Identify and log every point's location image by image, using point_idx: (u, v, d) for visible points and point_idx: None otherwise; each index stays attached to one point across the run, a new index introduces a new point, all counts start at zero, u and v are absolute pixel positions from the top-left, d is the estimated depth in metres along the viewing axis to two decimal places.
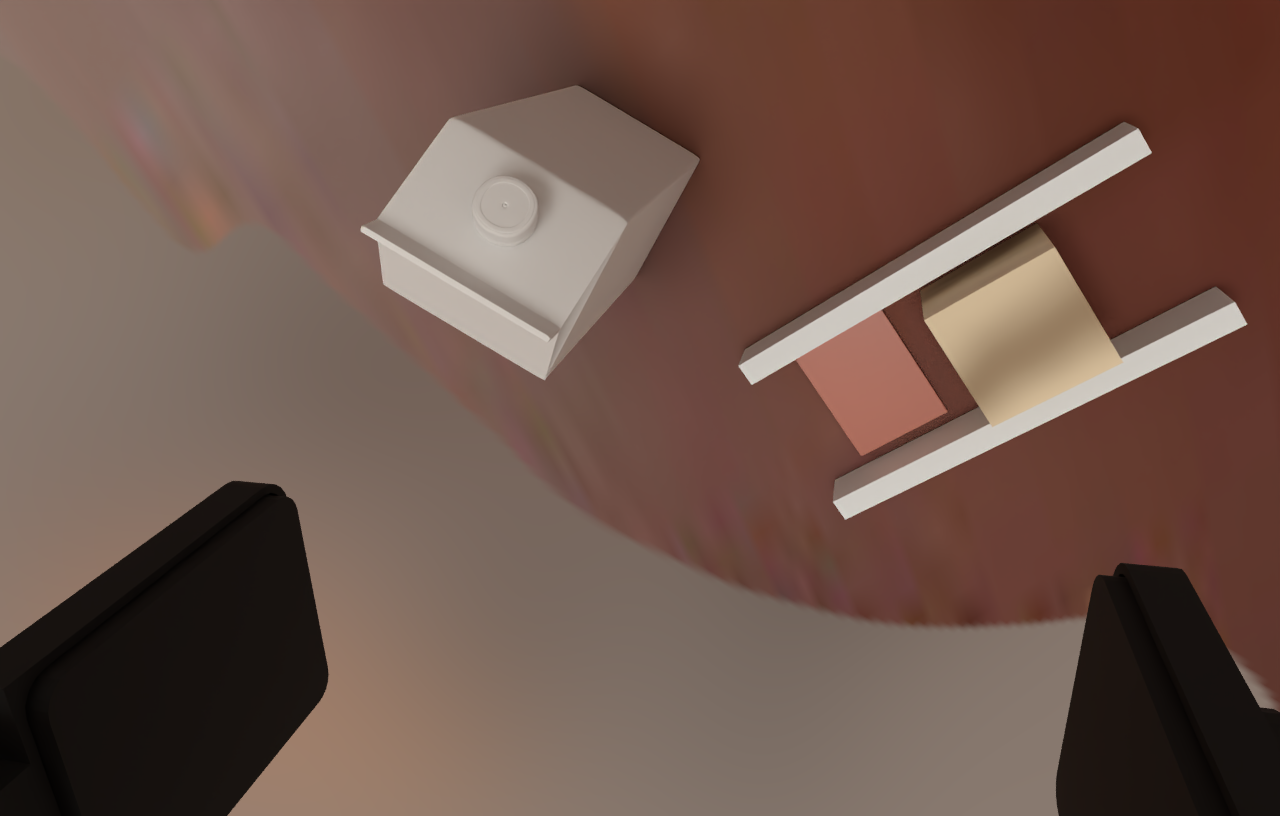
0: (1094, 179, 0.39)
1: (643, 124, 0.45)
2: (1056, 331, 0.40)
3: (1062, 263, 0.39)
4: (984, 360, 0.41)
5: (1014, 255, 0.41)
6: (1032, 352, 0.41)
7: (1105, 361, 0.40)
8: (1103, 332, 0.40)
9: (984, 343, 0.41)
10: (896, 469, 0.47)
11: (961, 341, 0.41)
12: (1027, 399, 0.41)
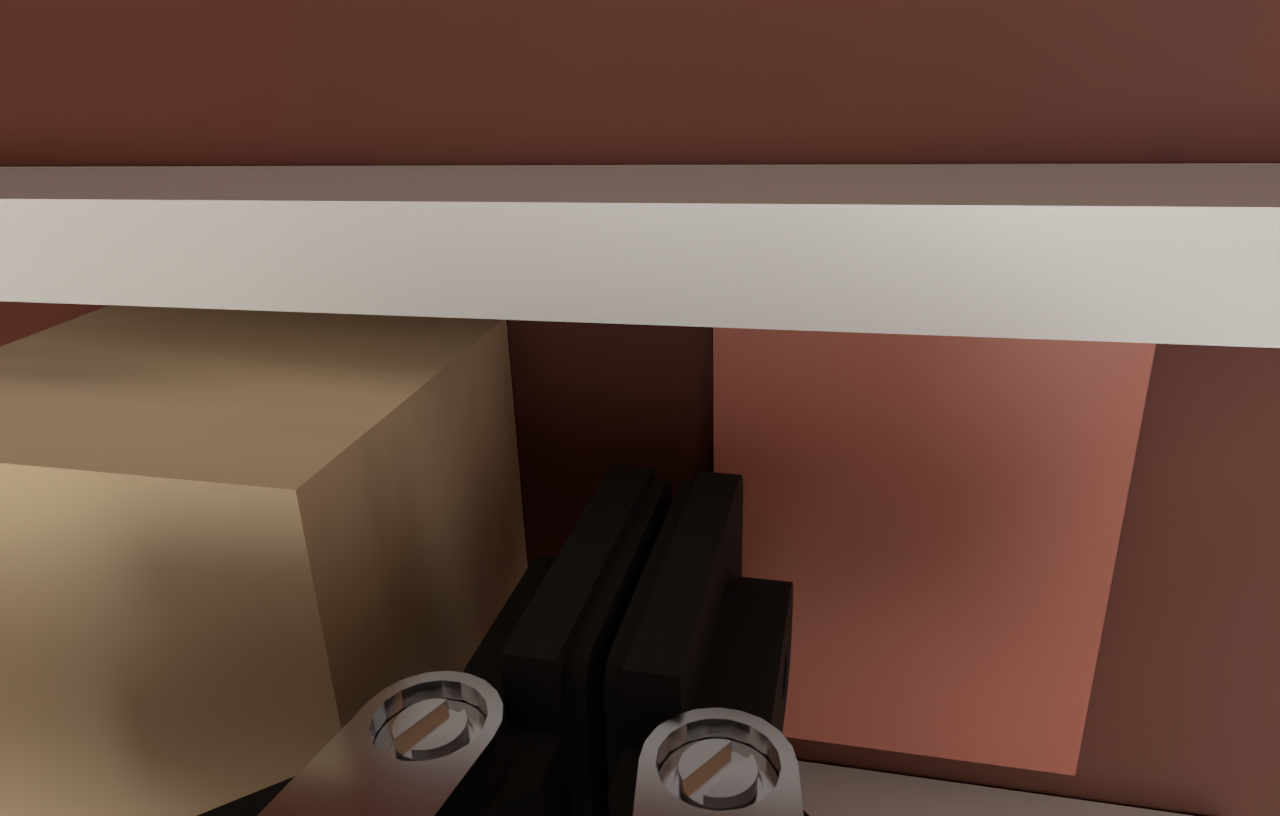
0: None
1: None
2: None
3: None
4: (234, 745, 0.09)
5: None
6: (58, 666, 0.09)
7: None
8: None
9: (217, 795, 0.10)
10: (1034, 335, 0.09)
11: None
12: (114, 514, 0.08)
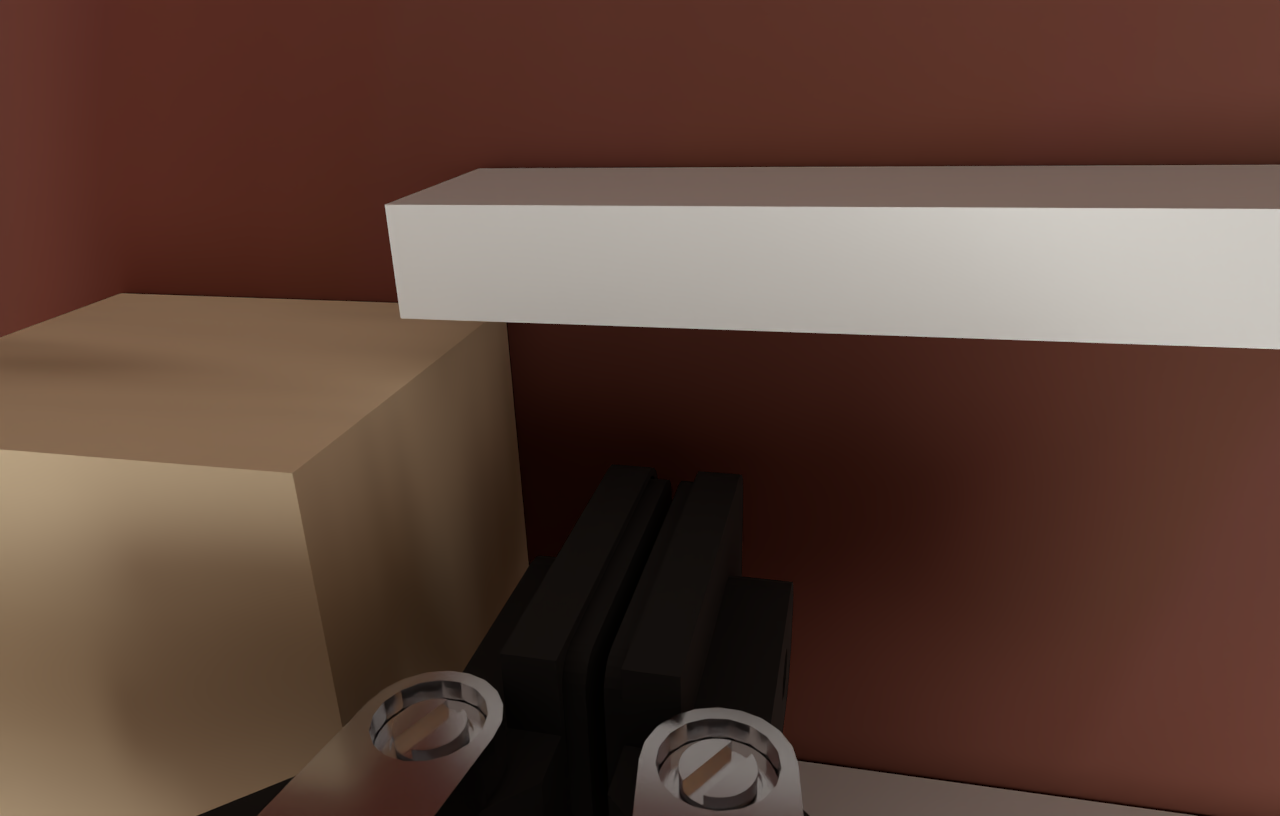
0: None
1: None
2: None
3: None
4: (233, 733, 0.09)
5: None
6: (57, 655, 0.09)
7: None
8: None
9: (217, 783, 0.10)
10: None
11: None
12: (112, 499, 0.08)
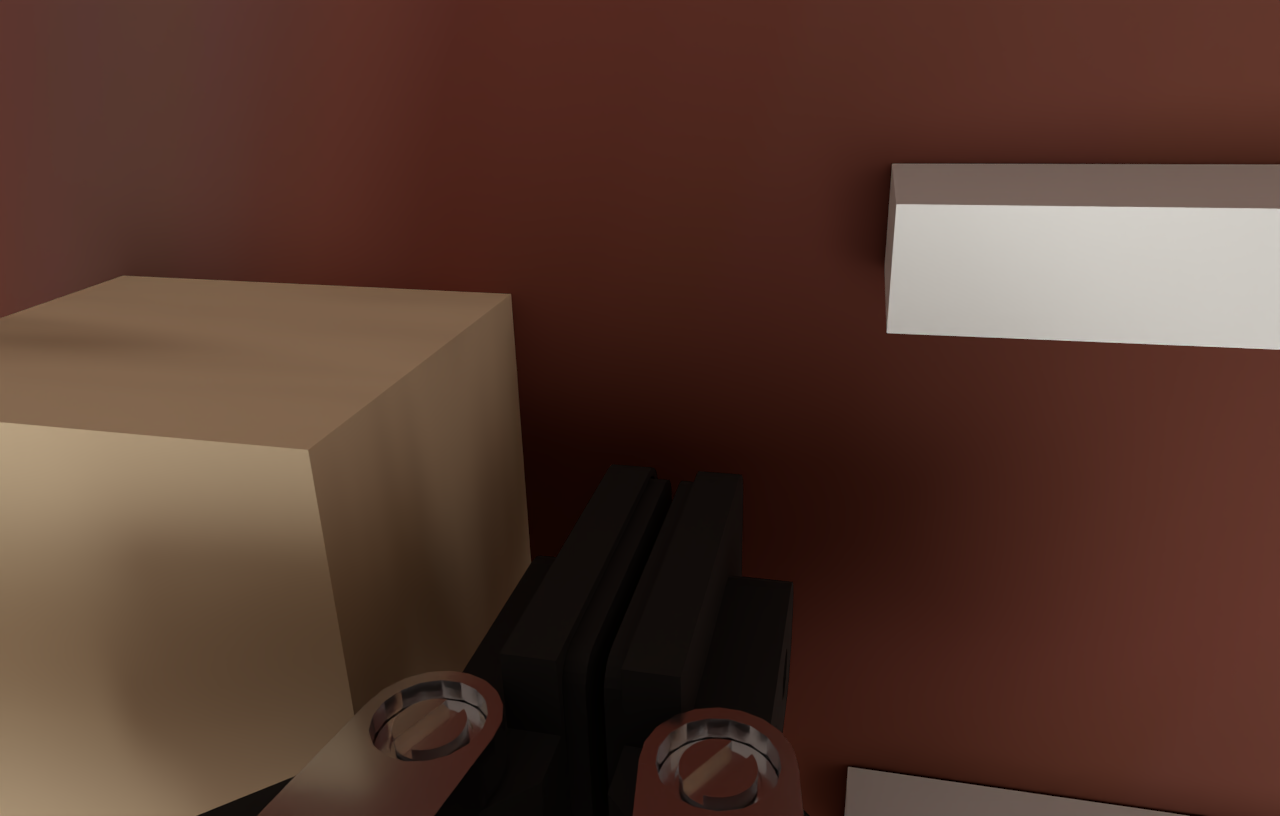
0: None
1: None
2: None
3: None
4: (242, 710, 0.09)
5: None
6: (67, 629, 0.09)
7: None
8: None
9: (225, 760, 0.10)
10: None
11: None
12: (127, 476, 0.08)
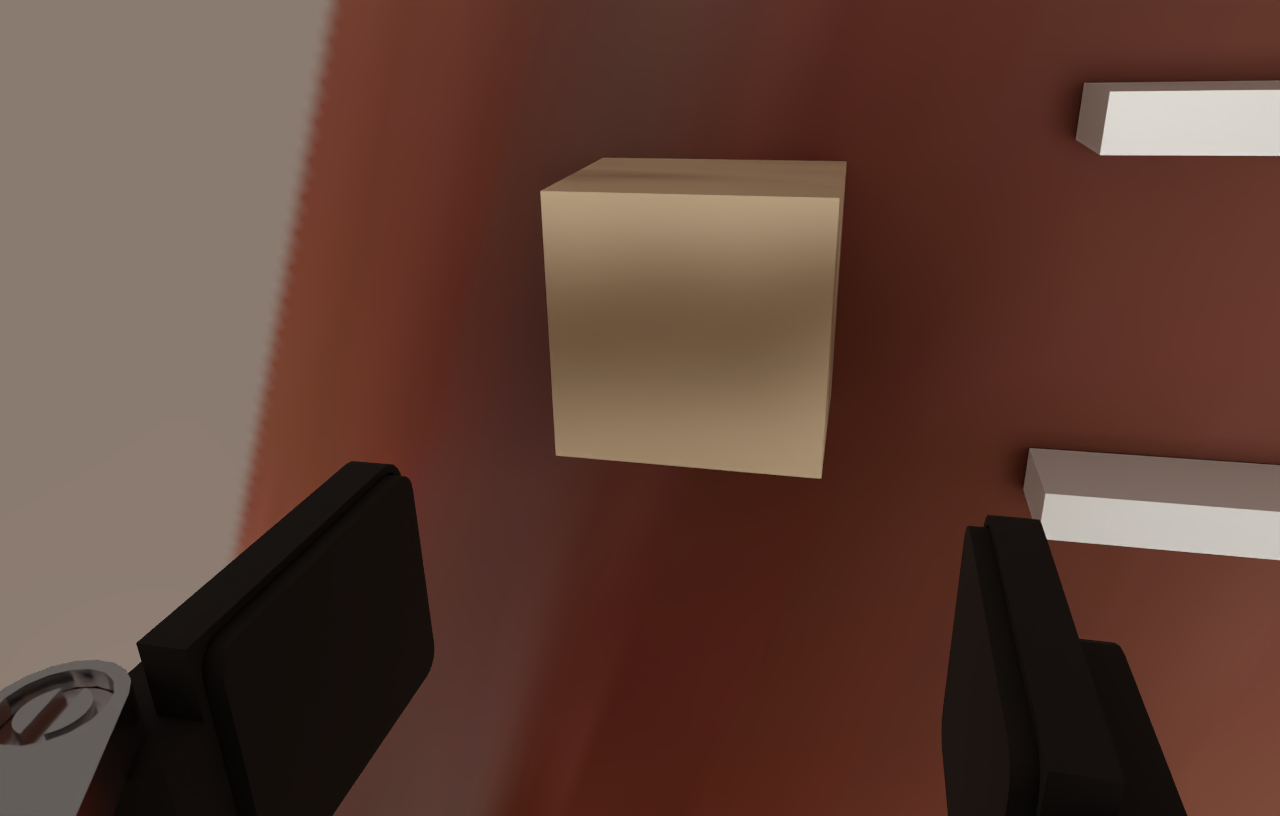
0: (1152, 512, 0.21)
1: None
2: (620, 319, 0.20)
3: (556, 424, 0.21)
4: (767, 342, 0.19)
5: None
6: (678, 306, 0.19)
7: (568, 211, 0.19)
8: (548, 269, 0.20)
9: (750, 374, 0.19)
10: None
11: (784, 402, 0.20)
12: (739, 217, 0.18)
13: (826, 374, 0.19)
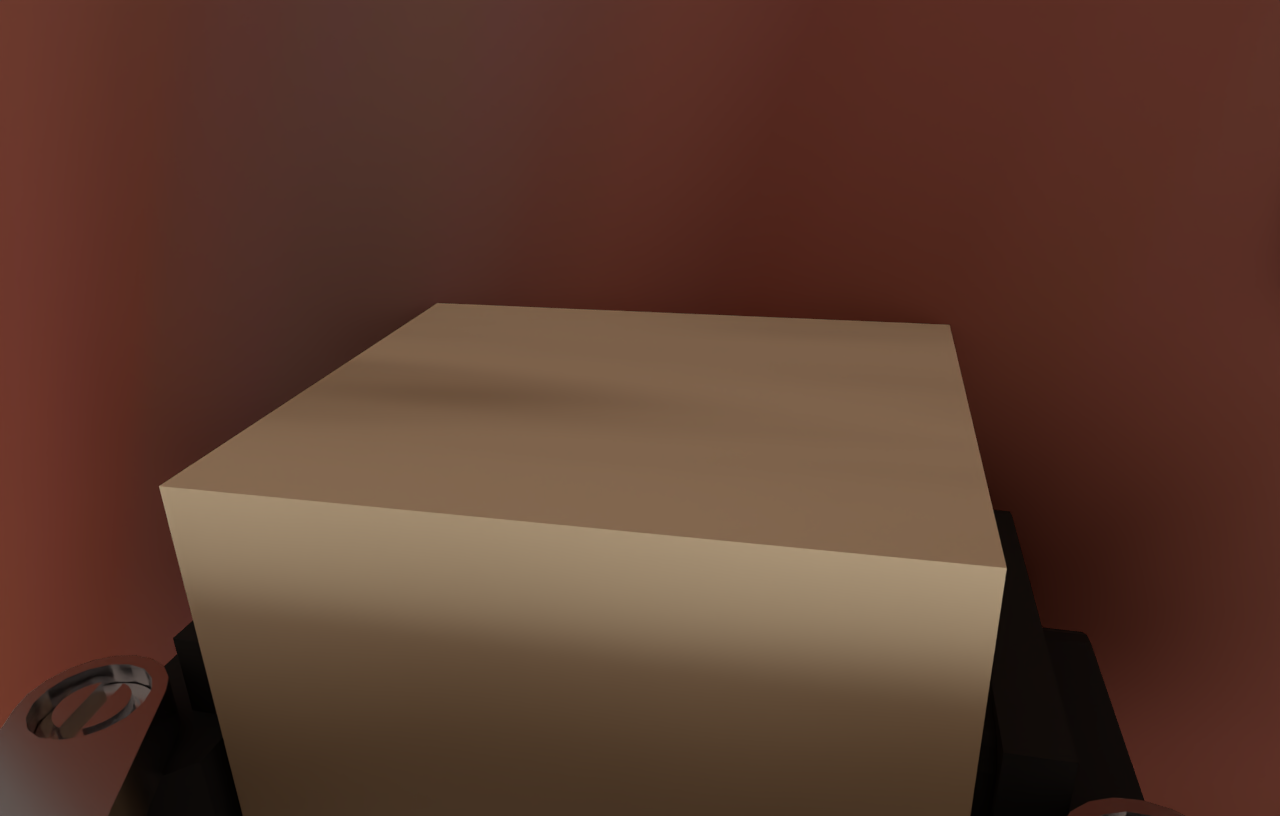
0: None
1: None
2: (399, 789, 0.08)
3: None
4: None
5: None
6: (543, 780, 0.07)
7: (236, 541, 0.07)
8: (211, 664, 0.08)
9: None
10: None
11: None
12: (696, 594, 0.06)
13: None
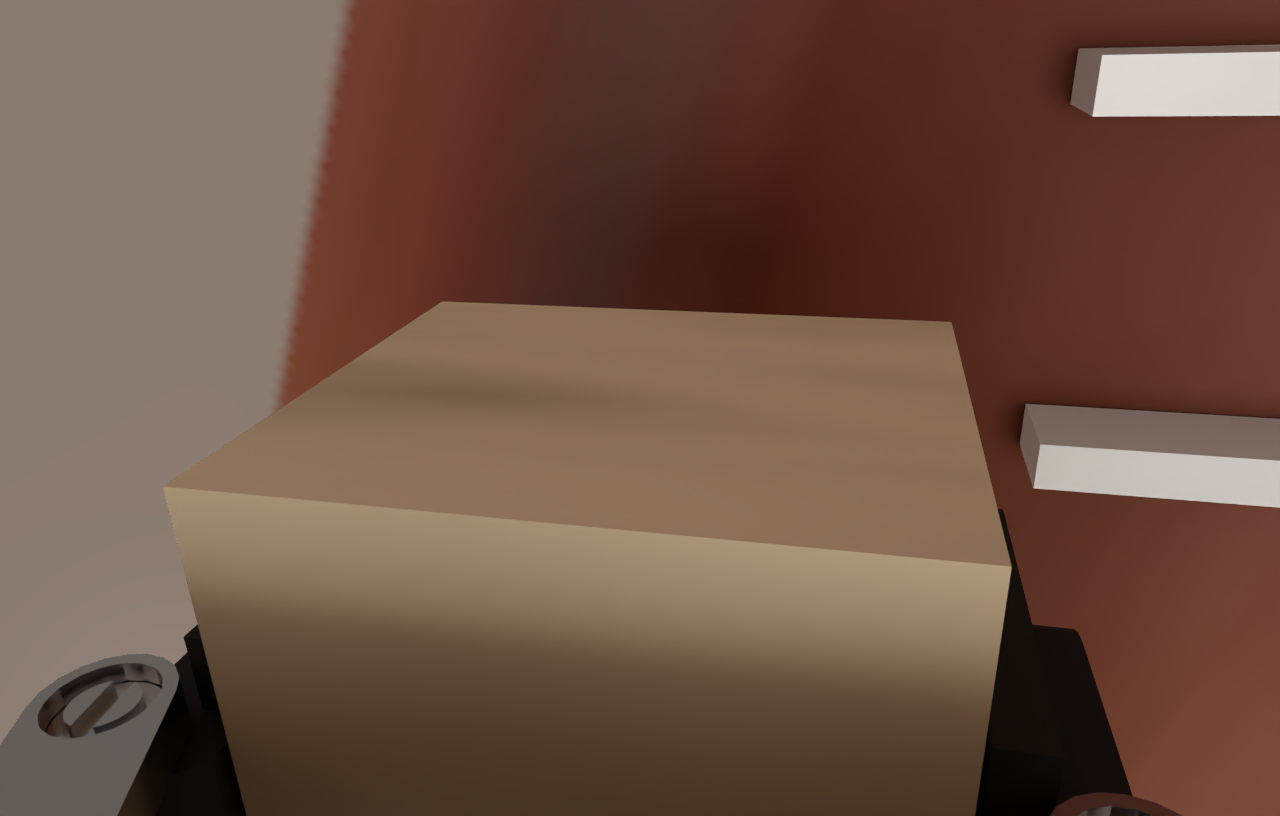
0: (1142, 461, 0.22)
1: None
2: (402, 789, 0.08)
3: None
4: None
5: None
6: (547, 779, 0.07)
7: (240, 541, 0.07)
8: (215, 664, 0.08)
9: None
10: None
11: None
12: (699, 592, 0.06)
13: None
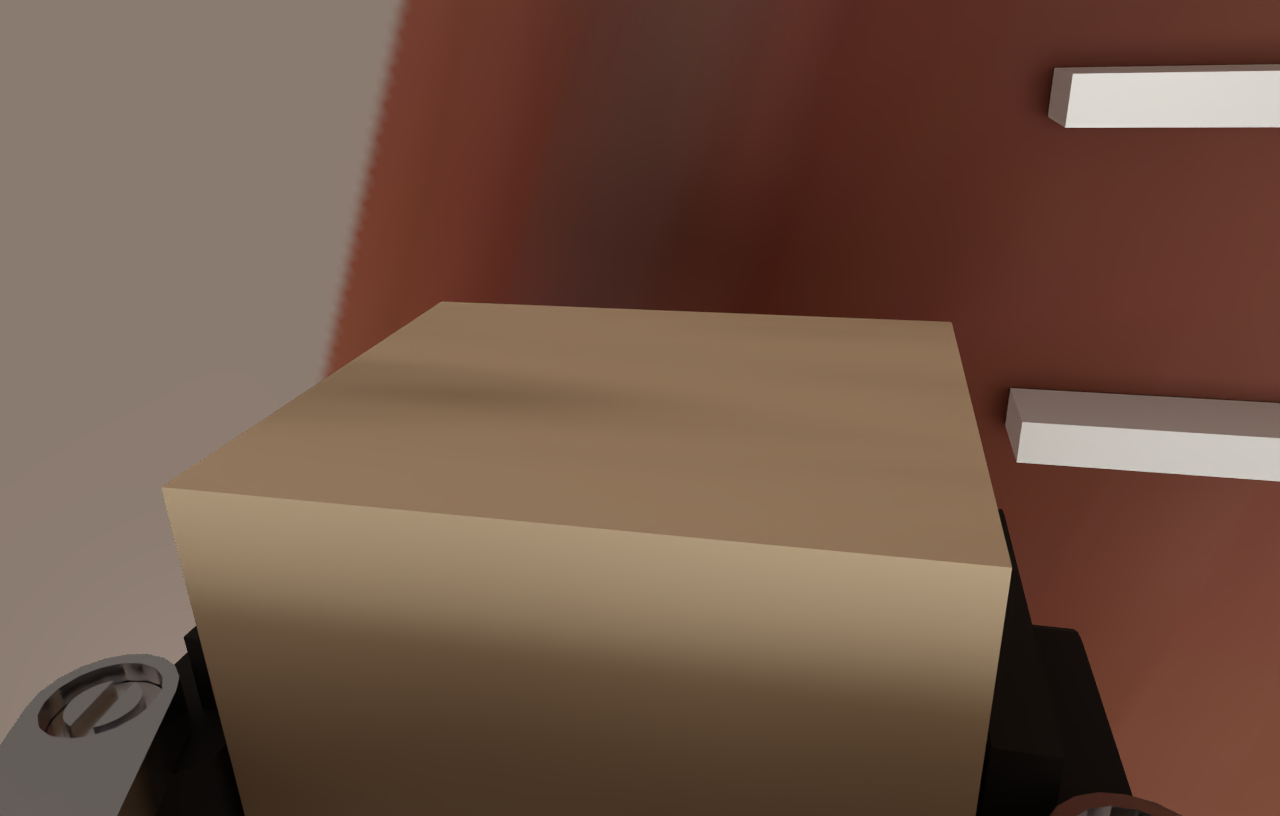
0: (1114, 436, 0.24)
1: None
2: (403, 790, 0.08)
3: None
4: None
5: None
6: (545, 781, 0.07)
7: (239, 542, 0.07)
8: (214, 665, 0.08)
9: None
10: None
11: None
12: (699, 593, 0.06)
13: None
